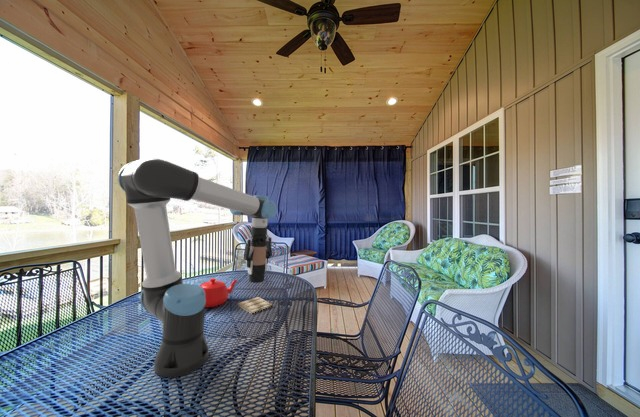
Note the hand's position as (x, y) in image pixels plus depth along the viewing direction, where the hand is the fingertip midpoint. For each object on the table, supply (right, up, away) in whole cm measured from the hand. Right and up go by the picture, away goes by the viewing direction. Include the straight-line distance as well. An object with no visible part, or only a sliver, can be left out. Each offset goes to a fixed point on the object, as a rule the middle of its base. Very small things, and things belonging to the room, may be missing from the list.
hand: (257, 272), depth 117 cm
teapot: (-23, -16, +2) cm, 28 cm away
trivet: (-1, -17, 0) cm, 17 cm away
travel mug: (0, -4, 0) cm, 4 cm away
